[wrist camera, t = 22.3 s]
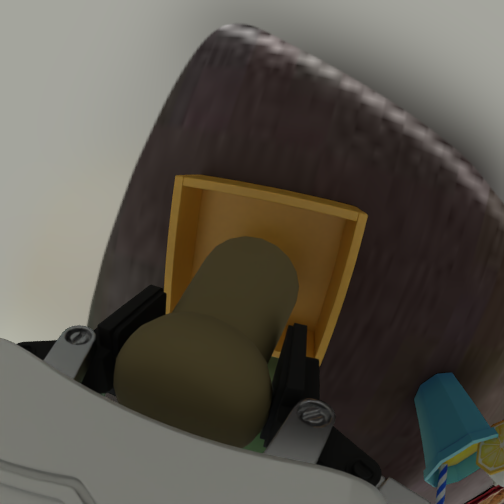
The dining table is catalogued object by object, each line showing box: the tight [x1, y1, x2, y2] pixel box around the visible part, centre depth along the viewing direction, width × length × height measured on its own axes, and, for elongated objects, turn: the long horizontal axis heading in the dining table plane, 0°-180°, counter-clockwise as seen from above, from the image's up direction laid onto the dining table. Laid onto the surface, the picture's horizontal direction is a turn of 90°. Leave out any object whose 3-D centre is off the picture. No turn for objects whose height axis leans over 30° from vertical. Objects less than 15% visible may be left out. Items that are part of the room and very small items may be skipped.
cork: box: [113, 236, 299, 448], centre depth 12 cm, size 6×6×11 cm
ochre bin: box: [164, 175, 368, 366], centre depth 20 cm, size 12×11×4 cm
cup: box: [414, 373, 504, 504], centre depth 16 cm, size 14×8×15 cm, turn 156°
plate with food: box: [466, 485, 504, 504], centre depth 27 cm, size 24×26×3 cm
